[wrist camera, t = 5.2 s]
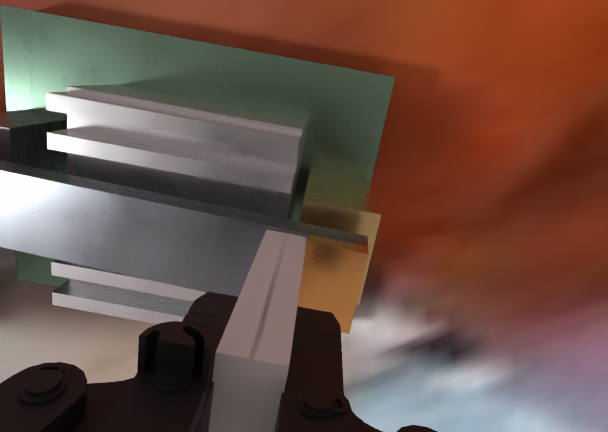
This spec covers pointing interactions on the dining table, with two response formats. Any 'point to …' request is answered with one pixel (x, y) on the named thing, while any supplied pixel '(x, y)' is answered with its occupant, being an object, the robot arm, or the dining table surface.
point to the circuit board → (185, 137)
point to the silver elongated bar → (169, 237)
